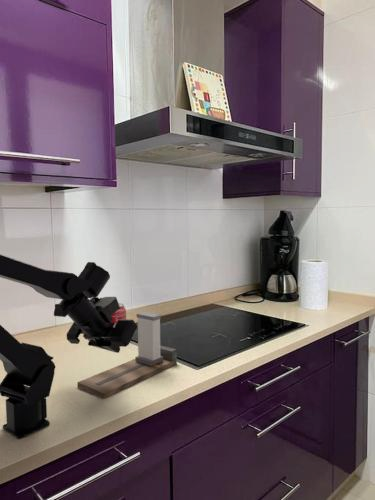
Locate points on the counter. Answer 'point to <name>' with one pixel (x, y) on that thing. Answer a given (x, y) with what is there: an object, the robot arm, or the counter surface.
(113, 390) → the slider base
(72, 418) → the counter surface
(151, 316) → the fader tab
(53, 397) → the counter surface
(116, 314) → the soda can
